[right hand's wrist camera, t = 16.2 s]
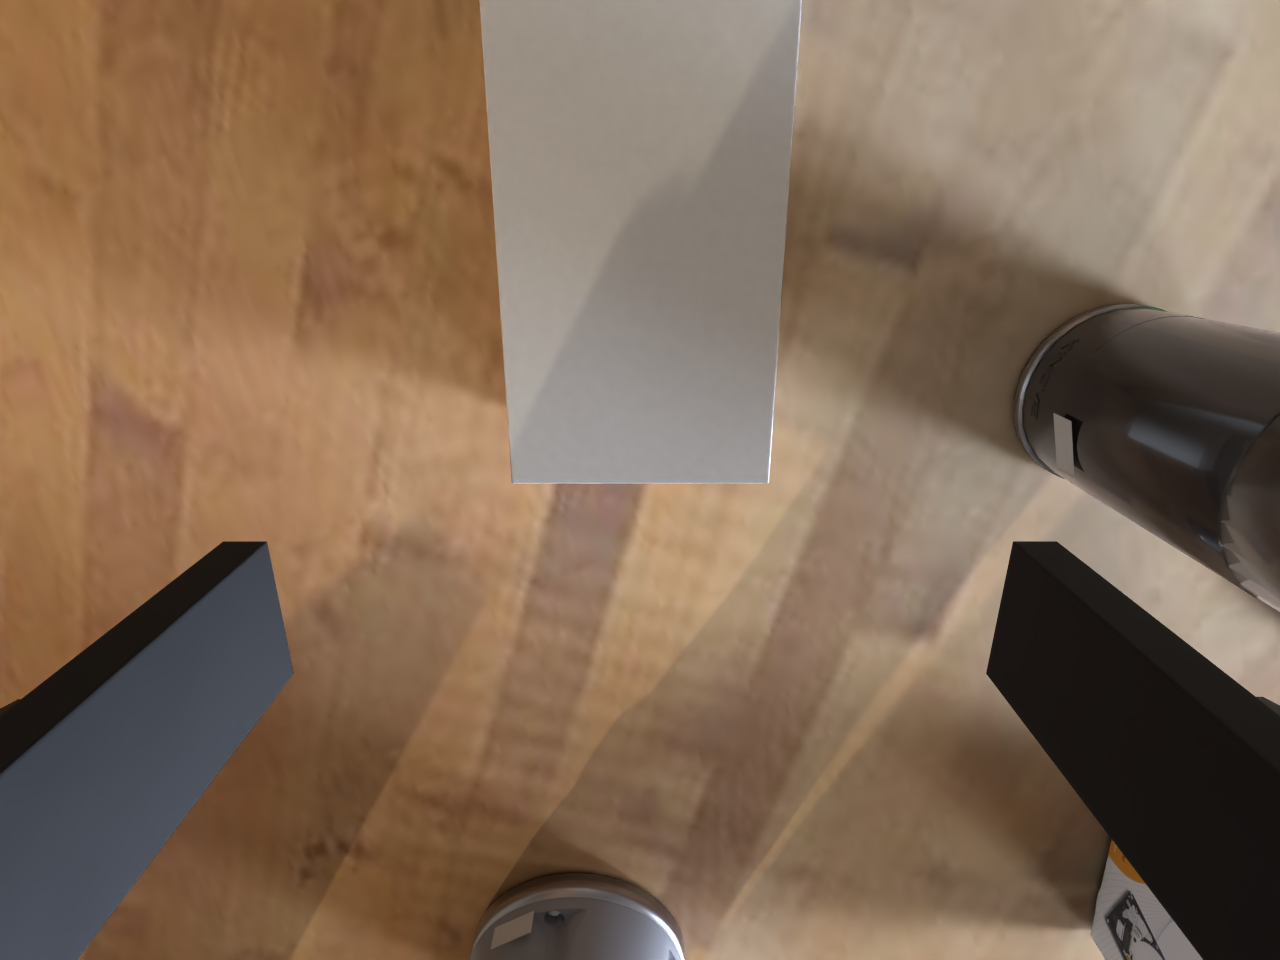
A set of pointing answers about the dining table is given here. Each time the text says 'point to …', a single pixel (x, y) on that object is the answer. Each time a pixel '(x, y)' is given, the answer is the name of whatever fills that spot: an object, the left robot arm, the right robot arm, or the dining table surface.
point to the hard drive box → (1134, 918)
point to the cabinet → (640, 232)
